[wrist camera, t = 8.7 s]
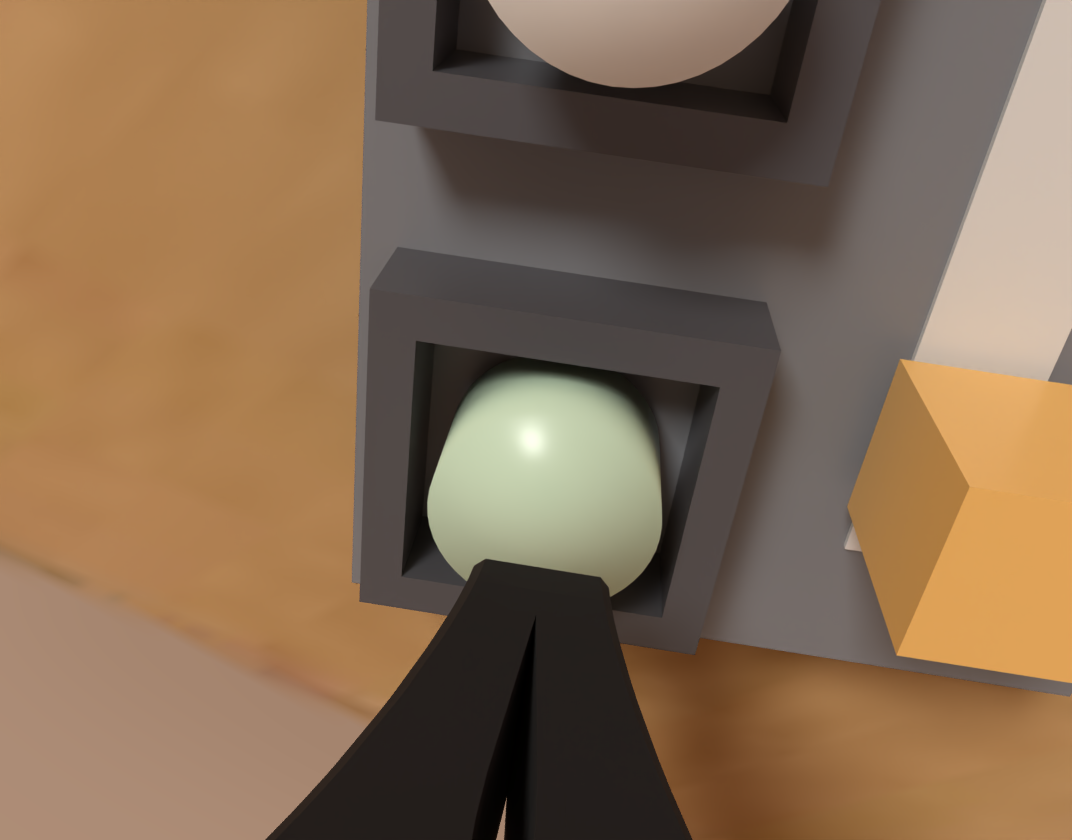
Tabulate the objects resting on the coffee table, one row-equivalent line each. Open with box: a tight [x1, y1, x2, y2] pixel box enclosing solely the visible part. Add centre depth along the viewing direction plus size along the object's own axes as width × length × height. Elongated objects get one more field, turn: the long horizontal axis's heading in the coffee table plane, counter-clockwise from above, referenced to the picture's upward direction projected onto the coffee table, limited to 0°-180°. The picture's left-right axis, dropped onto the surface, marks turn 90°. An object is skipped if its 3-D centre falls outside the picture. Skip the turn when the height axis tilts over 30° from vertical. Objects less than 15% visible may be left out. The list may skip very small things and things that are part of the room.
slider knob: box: [847, 359, 1072, 683], centre depth 12 cm, size 2×2×3 cm
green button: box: [427, 357, 662, 597], centre depth 13 cm, size 3×3×2 cm
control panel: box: [352, 0, 1072, 697], centre depth 12 cm, size 12×14×4 cm
